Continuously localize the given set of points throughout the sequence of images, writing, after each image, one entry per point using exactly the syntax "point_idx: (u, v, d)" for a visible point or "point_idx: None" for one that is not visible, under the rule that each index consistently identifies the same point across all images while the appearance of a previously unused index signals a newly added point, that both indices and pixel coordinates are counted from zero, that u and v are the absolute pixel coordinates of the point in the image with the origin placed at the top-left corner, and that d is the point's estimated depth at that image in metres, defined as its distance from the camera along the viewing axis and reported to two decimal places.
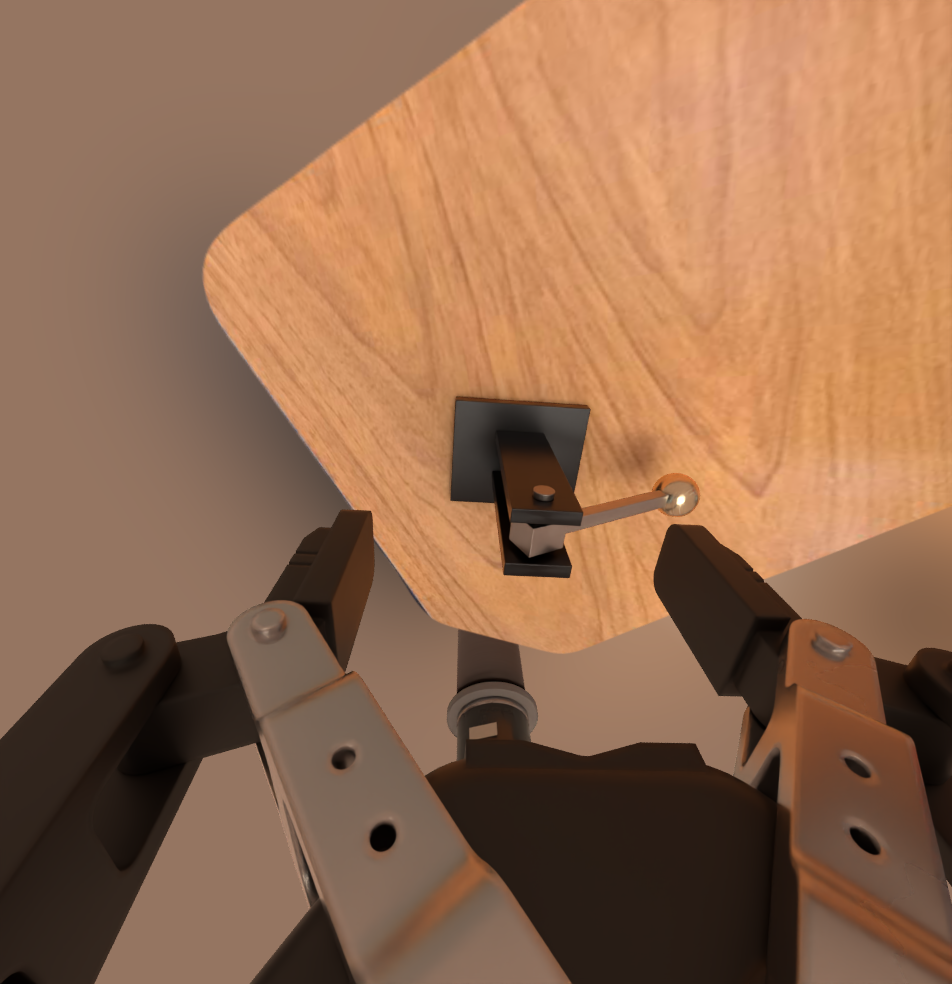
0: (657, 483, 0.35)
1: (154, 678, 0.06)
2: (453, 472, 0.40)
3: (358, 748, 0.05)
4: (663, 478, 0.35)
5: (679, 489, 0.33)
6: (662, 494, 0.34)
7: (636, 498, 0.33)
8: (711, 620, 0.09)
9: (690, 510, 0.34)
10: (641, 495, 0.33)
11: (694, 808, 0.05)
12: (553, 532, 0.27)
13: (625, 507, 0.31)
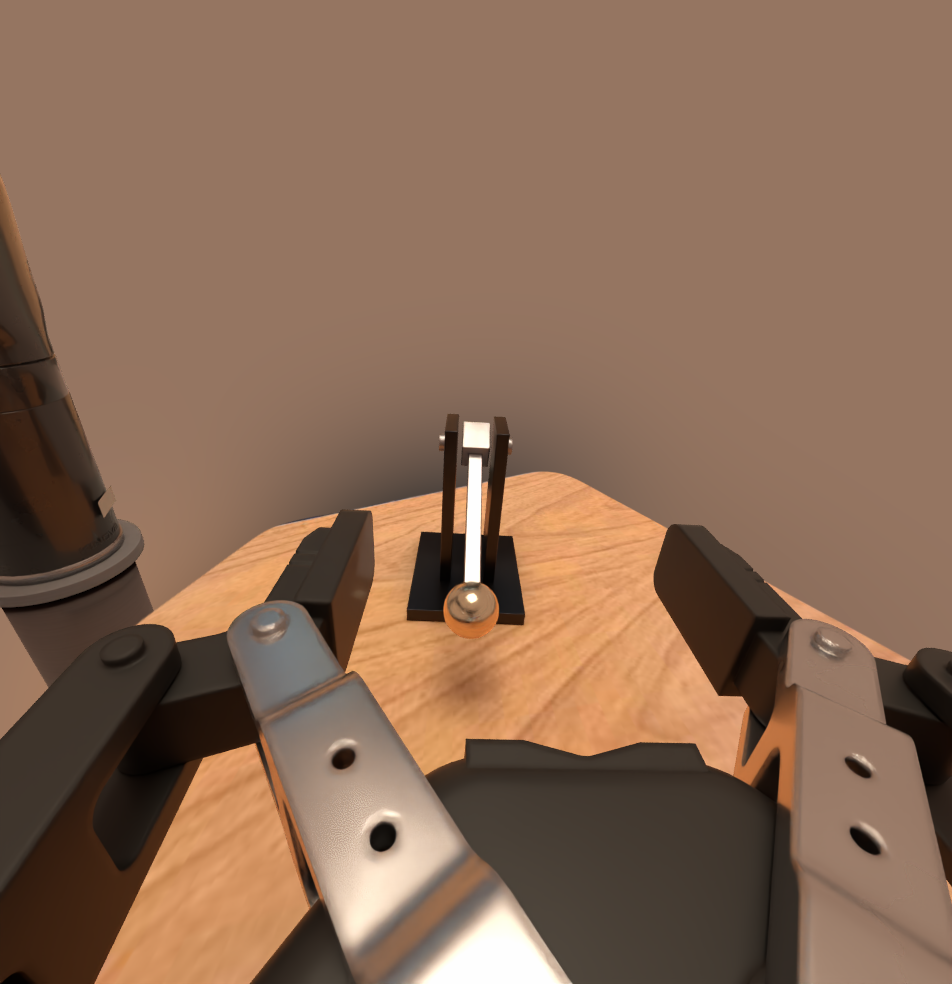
0: None
1: (154, 678, 0.06)
2: None
3: (359, 747, 0.05)
4: None
5: (489, 588, 0.28)
6: (480, 578, 0.29)
7: None
8: (711, 619, 0.09)
9: (464, 597, 0.26)
10: None
11: (694, 808, 0.05)
12: (481, 437, 0.34)
13: (479, 519, 0.31)
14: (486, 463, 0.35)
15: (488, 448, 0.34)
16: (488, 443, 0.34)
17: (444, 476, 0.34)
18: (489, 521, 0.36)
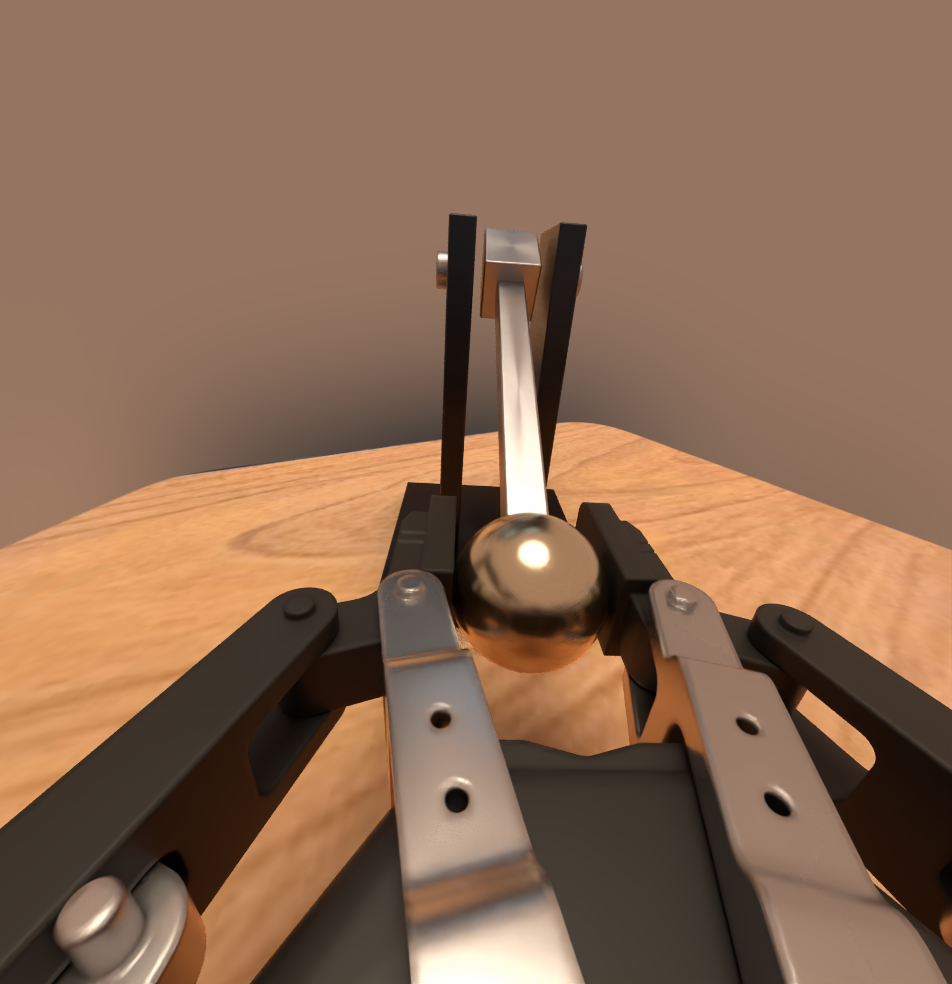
0: None
1: (330, 630, 0.07)
2: None
3: (455, 714, 0.05)
4: None
5: None
6: (546, 511, 0.11)
7: None
8: None
9: (516, 550, 0.09)
10: None
11: (694, 808, 0.05)
12: (523, 249, 0.17)
13: (531, 387, 0.13)
14: (530, 311, 0.18)
15: (538, 265, 0.16)
16: (537, 258, 0.17)
17: (447, 328, 0.17)
18: None
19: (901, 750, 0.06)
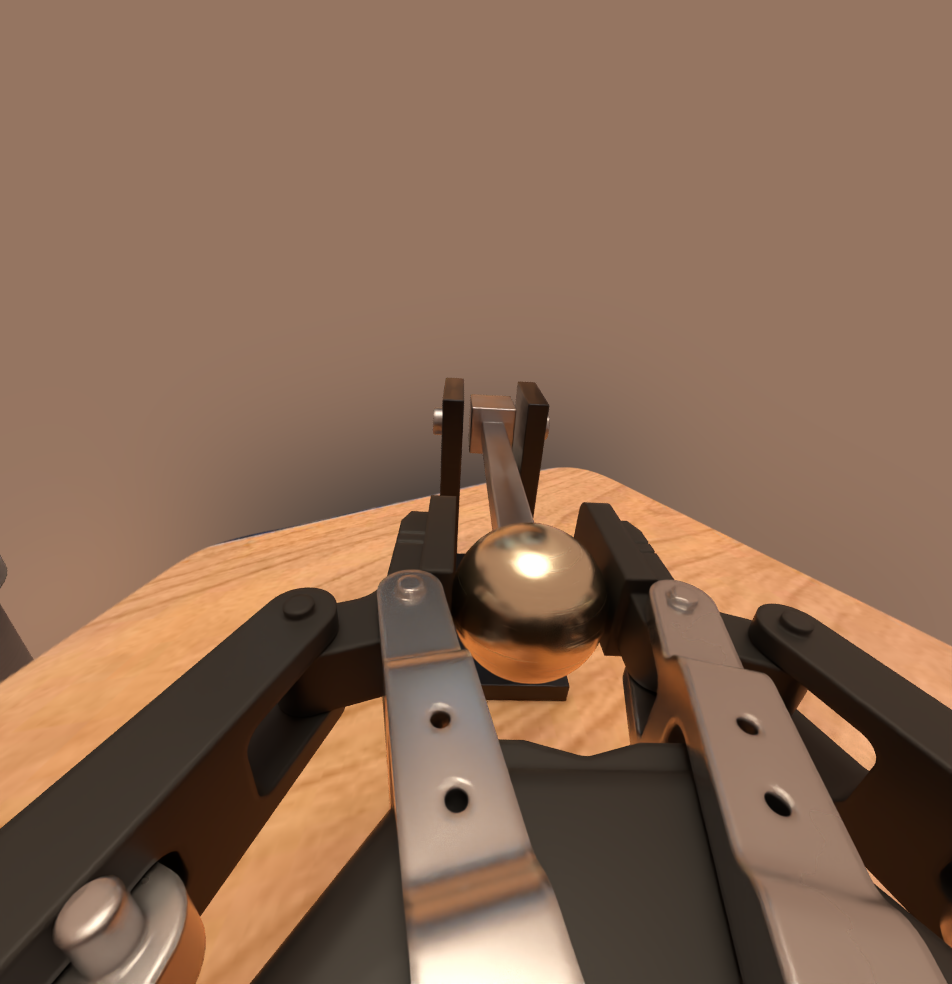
0: None
1: (330, 630, 0.07)
2: None
3: (454, 715, 0.05)
4: None
5: None
6: None
7: None
8: None
9: (511, 533, 0.09)
10: None
11: (694, 808, 0.05)
12: (501, 403, 0.22)
13: (515, 471, 0.16)
14: (510, 446, 0.22)
15: (514, 410, 0.21)
16: (512, 406, 0.21)
17: (442, 475, 0.21)
18: None
19: (902, 750, 0.06)
